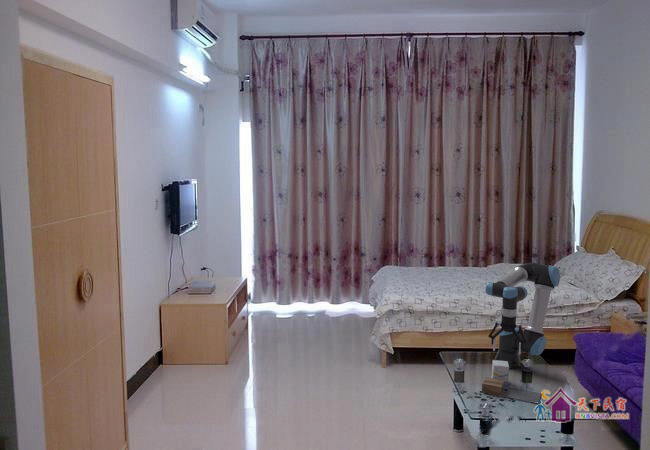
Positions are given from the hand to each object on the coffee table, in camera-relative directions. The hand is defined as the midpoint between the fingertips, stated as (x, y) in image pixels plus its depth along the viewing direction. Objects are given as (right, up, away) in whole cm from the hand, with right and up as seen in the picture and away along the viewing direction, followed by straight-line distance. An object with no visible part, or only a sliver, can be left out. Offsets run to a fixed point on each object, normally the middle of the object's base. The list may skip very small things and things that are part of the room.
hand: (506, 352), depth 320 cm
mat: (+6, -22, -8) cm, 24 cm away
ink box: (-2, -19, +8) cm, 21 cm away
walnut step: (-8, -21, -3) cm, 22 cm away
